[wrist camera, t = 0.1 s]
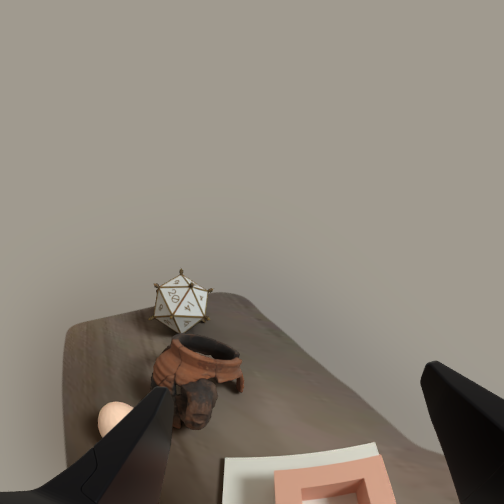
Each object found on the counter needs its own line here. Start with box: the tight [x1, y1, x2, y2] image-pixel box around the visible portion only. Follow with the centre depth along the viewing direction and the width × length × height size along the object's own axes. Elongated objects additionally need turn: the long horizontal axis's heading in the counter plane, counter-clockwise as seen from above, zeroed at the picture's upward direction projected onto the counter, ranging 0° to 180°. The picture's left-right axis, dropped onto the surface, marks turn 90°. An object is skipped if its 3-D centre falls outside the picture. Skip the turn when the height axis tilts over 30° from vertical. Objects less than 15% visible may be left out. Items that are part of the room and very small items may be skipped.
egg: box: [98, 402, 133, 438], centre depth 21 cm, size 4×4×6 cm
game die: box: [148, 269, 213, 334], centre depth 40 cm, size 9×8×10 cm
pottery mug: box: [150, 333, 244, 430], centre depth 27 cm, size 12×10×8 cm
